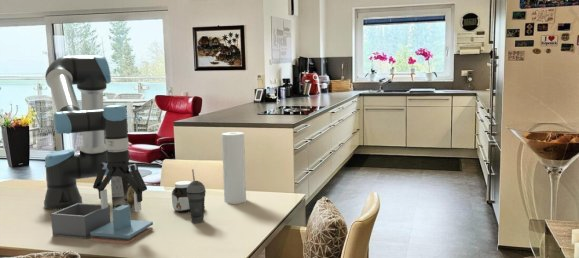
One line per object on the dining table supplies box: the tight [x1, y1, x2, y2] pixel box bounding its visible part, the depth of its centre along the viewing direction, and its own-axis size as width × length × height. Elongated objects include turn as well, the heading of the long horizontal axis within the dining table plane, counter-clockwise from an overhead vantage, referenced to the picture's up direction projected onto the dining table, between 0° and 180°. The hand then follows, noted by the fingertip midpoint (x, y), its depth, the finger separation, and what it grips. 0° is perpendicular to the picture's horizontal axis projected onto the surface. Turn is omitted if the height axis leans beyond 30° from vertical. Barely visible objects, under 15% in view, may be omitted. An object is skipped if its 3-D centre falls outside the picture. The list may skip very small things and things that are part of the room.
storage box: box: [50, 203, 112, 240], centre depth 187 cm, size 14×14×8 cm
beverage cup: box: [186, 169, 207, 224], centre depth 194 cm, size 7×7×20 cm
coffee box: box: [110, 170, 136, 213], centre depth 210 cm, size 9×6×16 cm
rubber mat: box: [91, 226, 153, 245], centre depth 182 cm, size 14×16×1 cm
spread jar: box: [171, 180, 206, 214], centre depth 210 cm, size 12×11×12 cm
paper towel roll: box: [221, 131, 247, 205], centre depth 221 cm, size 9×9×30 cm
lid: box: [90, 205, 154, 240], centre depth 182 cm, size 15×15×9 cm
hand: (121, 209), depth 181 cm, fingers open, 13 cm apart
